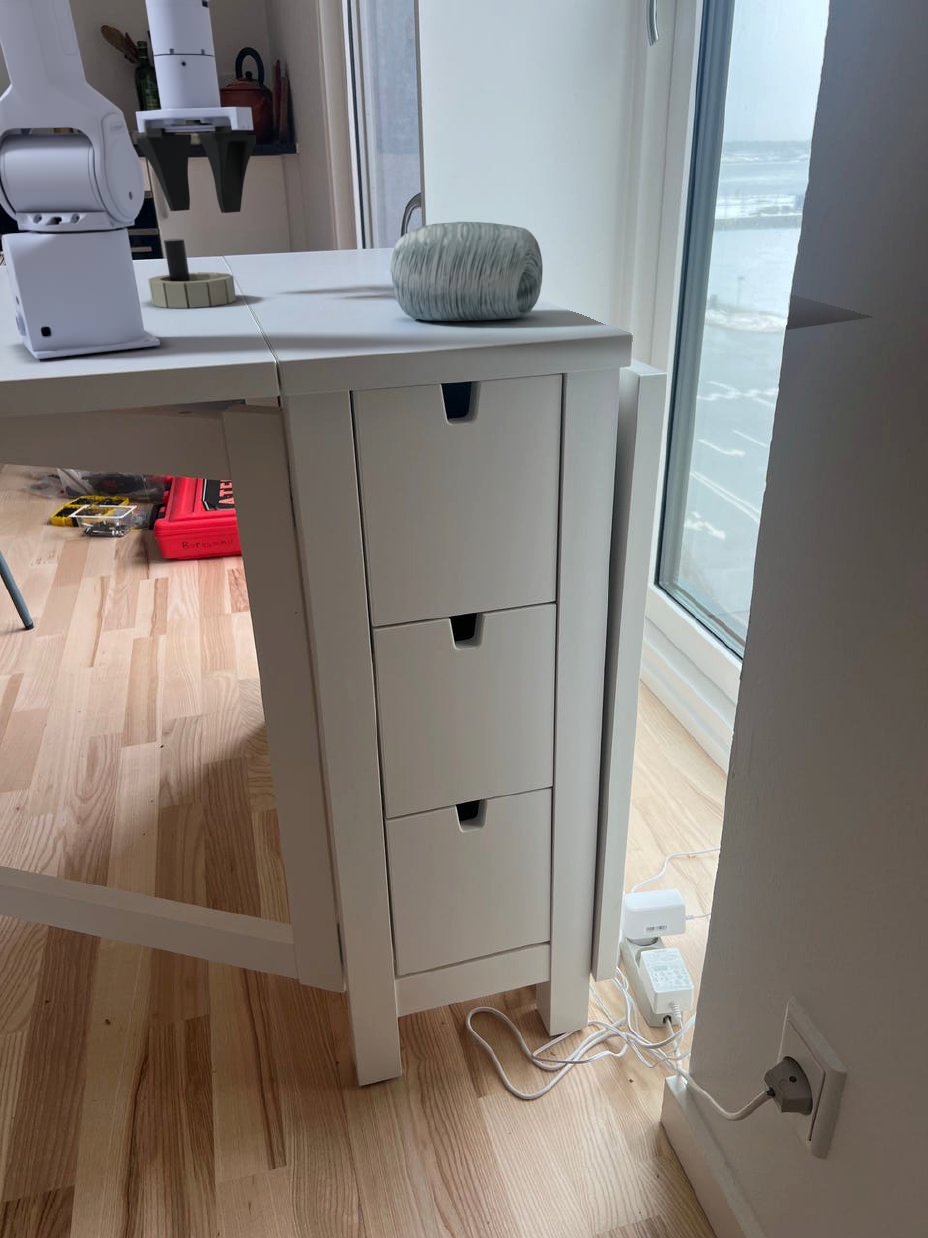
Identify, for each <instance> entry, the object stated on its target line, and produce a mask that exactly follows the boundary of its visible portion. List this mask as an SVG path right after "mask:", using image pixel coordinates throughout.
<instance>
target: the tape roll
mask: <svg viewBox="0 0 928 1238" xmlns="http://www.w3.org/2000/svg"><path fill="white" fill-rule="evenodd" d="M189 277H190V281H186V282H182V281H170V277H169V274H163V275H156V276H153V277H149V278H147V279H148V280H147V281H148V285H149V286H148V288H149V292H150V293H149V294H150V298H151V299H150V300H151V303H152V305H153V306H154V307H158V308H164V309H165V308H166V309H167V308H168V309H188V308H190V309H194V308H195V309H196V308H208V307H215V306H221V305H227V304H230V303H233V302H235V301H236V300H237V298H236V297H237V296H236V288H235V280H234V276H233V275H232V274H230V273H226V272H211V271H210V272H207V271H206V272H201V271H200V272H199V271H198V272H189Z"/></svg>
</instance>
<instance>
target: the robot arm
mask: <svg viewBox="0 0 928 1238" xmlns="http://www.w3.org/2000/svg"><path fill="white" fill-rule="evenodd" d="M210 1H211V0H145V6H146V7H145V8H146V14H147V20H148V27H149V34H150V42H151V48H152V54H153V62H154V68H155V69H154V70H155V74H156V75H155V77H156V81H157V88H158V97H159V103H160V109H152V110H142V111H141V110H140V111H135V118H136V123H137V129H138V133H139V134H145V136H139V137H136V140H135V141H136V144H137V146H138V148H139V149H140V150H141V152H142V153H143V155H144V157H145V158H146V160H147V161H148V163H149V164H150V166H151V168H152V170H153V171H154V174H155V176H156V178H157V180H158V182H159V185H160V187H161V190H162V193H163V195H164V198H165V201H166V202H167V205H168V206H167V207H168V208H169V211H170V212H183V211H190V210H191V209H190V207H191V195H190V194H191V193H190V185H189V158H190V157H189V156H190V148H191V142H192V134H191V133H186V132H198V138H199V140H200V142H201V144H202V147H203V149H204V151H205V154H206V156H207V158H208V162H209V165H210V169H211V172H212V177H213V182H214V187H215V193H216V199H217V203H218V207H219V210H220V212H221V213H222V214H229V213H230V214H231V213H240V212H241V210H242V209H241V208H242V200H243V191H244V183H245V178H246V173H247V169H248V164H249V161H250V159H251V155H252V153H253V150H254V148H255V146H256V144H257V138H256V135H255V134H247V132H246V131H253V130H254V122H253V114H252V113H253V111H252V107H251V106H226V107H222V106H221V97H220V89H219V81H218V71H217V64H216V63H217V62H216V55H215V46H214V39H213V31H212V22H211V21H212V20H211V13H210V12H211V11H210V5H209V2H210ZM0 46H1V51H2V53H3V57H4V61H5V65H6V69H7V73H8V77H9V81H10V84H9V86H8V87H7V89H6V90H5V91H4V92H3V93H2V95H1V96H0V205H1V206H2V208H3V210H4V211H5V213H7V214H8V215H9V217H11V218H12V219H13V220H15V221H17V222H16V223H17V226H18V230H19V231H26V232H18V233H7V234H6V233H5V234H3V235H2V236H1V246H2V247H1V248H2V252H3V258H4V262H5V267H6V272H7V273H6V274H7V277H8V281H9V285H10V290H11V294H12V298H13V302H14V303H13V304H14V307H15V312H14V316H15V317H14V318H15V321H16V325H17V329H18V333H19V335H20V336H21V337H22V339H21V340H22V344H23V345H24V346H25V348H27V350H28V351H29V352H30V354H32V356H33V357H34V358H35V359H38V360H39V359H40V360H41V359H49V358H59V357H66V356H68V357H69V356H76V355H86V354H95V353H96V354H97V353H104V352H114V351H122V350H129V349H130V350H131V349H140V348H148V347H157V346H160V345H161V342H160V339H159V338H157V337H156V336H154V335H153V334H151V333H150V332H148V331H147V330H145V326H144V325H145V324H144V320H143V314H142V308H141V303H140V296H139V291H138V284H137V278H136V273H135V268H134V267H135V266H134V262H133V261H134V260H133V256H132V249H131V243H130V239H129V232H128V228H127V227H131V226H135V225H136V224H135V219H136V218H137V217H138V215H139V214H140V211H141V209H142V207H143V205H144V201H145V177H144V172H143V167H142V164H141V160H140V157H139V155H138V153H137V151H136V148H135V147H134V145H133V143H132V140H131V139H132V138H131V136H130V134H129V130H128V126H127V122H126V119H125V115H124V113H123V111H122V110H121V109H120V108H119V107H118V106H117V105H115V104H114V102H112V101H110V100H109V99H108V98H107V97H105V96H104V95H103V94H102V93H100V92H99V91H98V90H96V89H95V88H94V87H93V86H91V85H90V84H89V83H88V82H87V79H86V75H85V70H84V66H83V61H82V60H83V59H82V56H81V51H80V47H79V42H78V39H77V33H76V28H75V24H74V19H73V14H72V10H71V4H70V1H69V0H0ZM190 120H191V121H194V120H195V121H198V120H199V121H200V123H201V125H199V124H198V125H186V124H187V121H190ZM202 124H203V125H202ZM54 128H56V129H57V128H58V129H59V128H69V129H70V128H71V129H76V130H79V131H81V132H54V133H53V132H51V133H50V132H49V133H32V131H33V130H34V129H54ZM183 132H184V133H183Z"/></svg>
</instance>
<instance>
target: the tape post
mask: <svg viewBox="0 0 928 1238" xmlns="http://www.w3.org/2000/svg"><path fill="white" fill-rule="evenodd" d="M163 243H164V250H165V256H166V263H167V269H168V275H169V277H170V281H182V282H186V281H190V277H189V273H190V271H189V264H188V258H187V256H188V255H187V250H186V244H185V243H186V241H185V239H183V238H174V239H173V238H172V239H171V238H170V239H164V240H163Z"/></svg>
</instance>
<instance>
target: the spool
mask: <svg viewBox="0 0 928 1238" xmlns="http://www.w3.org/2000/svg"><path fill="white" fill-rule="evenodd" d="M389 264H390V274H391V282H392V286H393V293H394V296H395V299H396V301H397V303H398V305H399V307H400V309H401V310H402V312H404V314H405V315H407V316H409V317H411V318H412V319H414V320H423V321H428V322H432V321H435V322H464V321H469V322H470V321H491V320H505V319H506V320H507V319H510V320H513V319H518V318H520V317H523V316H526V315H528V314H530V312H531V311H532V310H533V308H534V307H535V306H536V304H537V303H538V300H539V297H540V294H541V290H542V289H541V287H542V283H543V272H544V271H543V270H544V269H543V268H544V267H543V256H542V253H541V248H540V245H539V242H538V240H537V239H536V237H535V236H534V234H533V233H532V232H531V231H530V230H528V229H527V228H526V227H521V226H515V225H511V224H503V223H496V222H483V221H453V222H438V223H432V224H428V225H424V226H420V227H418V228H415V229H413V230H410V231H408V232H407V233H405V234H403V235H402V236H401V237H400V238H399V239H398V240H397V242H396V243H395V245H394V247H392V250H391V252H390V259H389Z"/></svg>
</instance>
